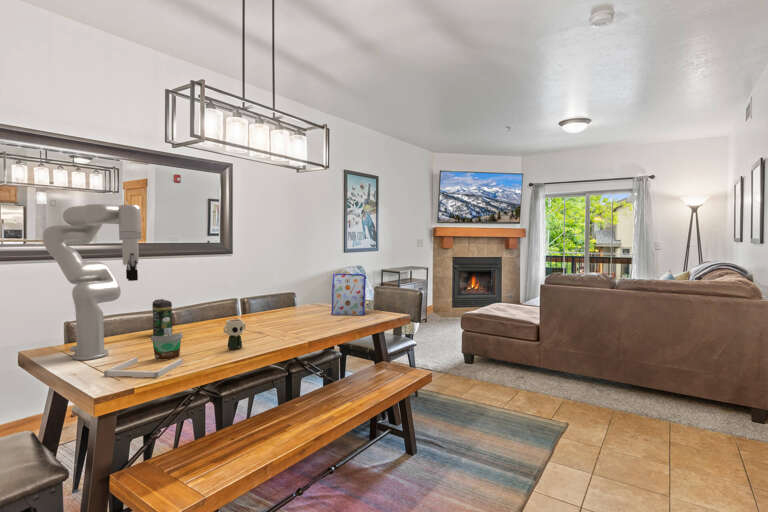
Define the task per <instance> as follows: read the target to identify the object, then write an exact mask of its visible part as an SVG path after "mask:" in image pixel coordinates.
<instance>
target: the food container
mask: <svg viewBox="0 0 768 512" xmlns="http://www.w3.org/2000/svg"><path fill="white" fill-rule="evenodd" d="M183 337H184V335H183V332H179V333H172V334H166V335H163V336H154V335H153V334H152V335H151V336H150V341H152V346H153V352H154V353H153V355H154V359H155V358H156V359H155V360H158V359H167V360H172V358H173V359H176V358H178V357H180V355H181V354H180V353H181V344H182V343H181V342H182V338H183ZM175 357H176V358H175Z"/></svg>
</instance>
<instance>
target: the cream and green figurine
mask: <svg viewBox="0 0 768 512" xmlns="http://www.w3.org/2000/svg"><path fill="white" fill-rule="evenodd" d="M225 323H226V325H224V326H223V327H222V328H223V334H226V335H228V336H229V337H228V340H227V348H228V349H230V350H237V349H238V348H239V349H241V348H243V343H242V336H241V335H243V332H244V330H246V322H244V321H243V319H242V318H241V319H240V318H232V319H228V320H227V319H226V322H225Z"/></svg>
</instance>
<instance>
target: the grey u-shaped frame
mask: <svg viewBox="0 0 768 512" xmlns="http://www.w3.org/2000/svg"><path fill="white" fill-rule="evenodd" d="M136 362H137V363H138V362H139V358H138V357H136V356H135V357H133V358H131V359H128V360H125V361H123V362H121V363H119V364H117V365H115V366H113V367H109V368H107V369H105V370H104V377H116V376H132V377H131V378H144V377H158V378H159V376H160V377H161V376H163V375H165V374H168V371H169V372H170V371H172V370H174V369H176V368H178V367H180V366H181V365H183V364H184V363H183V362H184V360H183V358H178V359H177V360H176V361H173V362H172V363H169V364H167V365H166V366H164V367H162V368H160V369H158V370H156V371H152V370H150V371H148V370H124V369H126V368H128V367H130V365H131V366H133V365H135V364H137V363H136ZM134 363H135V364H134ZM132 364H133V365H132ZM179 365H180V366H179ZM177 366H178V367H177ZM123 368H124V369H123ZM121 369H122V370H121ZM162 374H163V375H162Z"/></svg>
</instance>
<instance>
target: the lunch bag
mask: <svg viewBox="0 0 768 512" xmlns="http://www.w3.org/2000/svg"><path fill="white" fill-rule="evenodd" d="M366 279H367V276H366V274H363V273H343V272H342V273H333V274H332V283H331V284H332V286H331V287H332V288H331V313H330V314H331V315H334V316H365V310H366V297H367V296H366V283H367V282H366V281H367V280H366Z"/></svg>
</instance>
